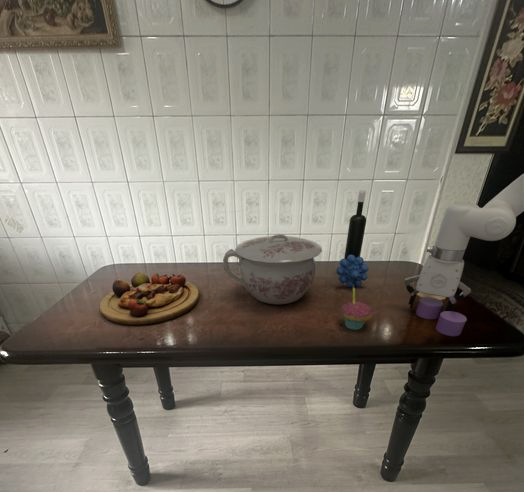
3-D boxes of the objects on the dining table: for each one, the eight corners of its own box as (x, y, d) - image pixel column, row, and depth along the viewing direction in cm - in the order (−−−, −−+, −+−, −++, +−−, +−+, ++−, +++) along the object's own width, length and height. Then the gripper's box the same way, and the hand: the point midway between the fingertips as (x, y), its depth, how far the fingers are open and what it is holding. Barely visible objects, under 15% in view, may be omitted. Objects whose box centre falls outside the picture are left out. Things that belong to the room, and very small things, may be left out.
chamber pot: (331, 291, 107) (338, 230, 95) (290, 323, 88) (293, 253, 77) (266, 275, 120) (266, 220, 108) (220, 300, 102) (213, 237, 90)
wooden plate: (174, 332, 85) (168, 305, 81) (77, 321, 91) (67, 296, 87) (213, 287, 111) (211, 265, 106) (136, 281, 117) (130, 260, 112)
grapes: (337, 292, 106) (341, 259, 99) (332, 285, 111) (336, 252, 105) (369, 291, 106) (376, 258, 100) (363, 284, 112) (369, 251, 105)
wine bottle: (358, 277, 117) (373, 191, 100) (343, 277, 118) (355, 191, 100) (355, 272, 122) (369, 189, 105) (340, 272, 122) (352, 189, 105)
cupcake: (336, 329, 85) (342, 290, 78) (341, 316, 92) (347, 278, 85) (367, 335, 82) (376, 295, 76) (371, 321, 89) (379, 283, 82)
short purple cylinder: (461, 327, 85) (466, 314, 83) (460, 338, 81) (467, 324, 78) (436, 322, 88) (441, 309, 85) (434, 332, 83) (439, 318, 81)
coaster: (446, 292, 105) (447, 291, 105) (445, 303, 98) (446, 302, 98) (417, 287, 109) (417, 286, 109) (414, 297, 102) (414, 296, 102)
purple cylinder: (439, 312, 93) (443, 299, 91) (437, 321, 89) (442, 307, 86) (416, 308, 96) (420, 295, 93) (414, 316, 91) (418, 303, 89)
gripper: (411, 252, 82) (396, 309, 92) (485, 262, 75) (460, 322, 85) (414, 245, 88) (399, 299, 97) (484, 254, 81) (460, 311, 91)
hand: (428, 310), depth 91 cm, fingers open, 9 cm apart
